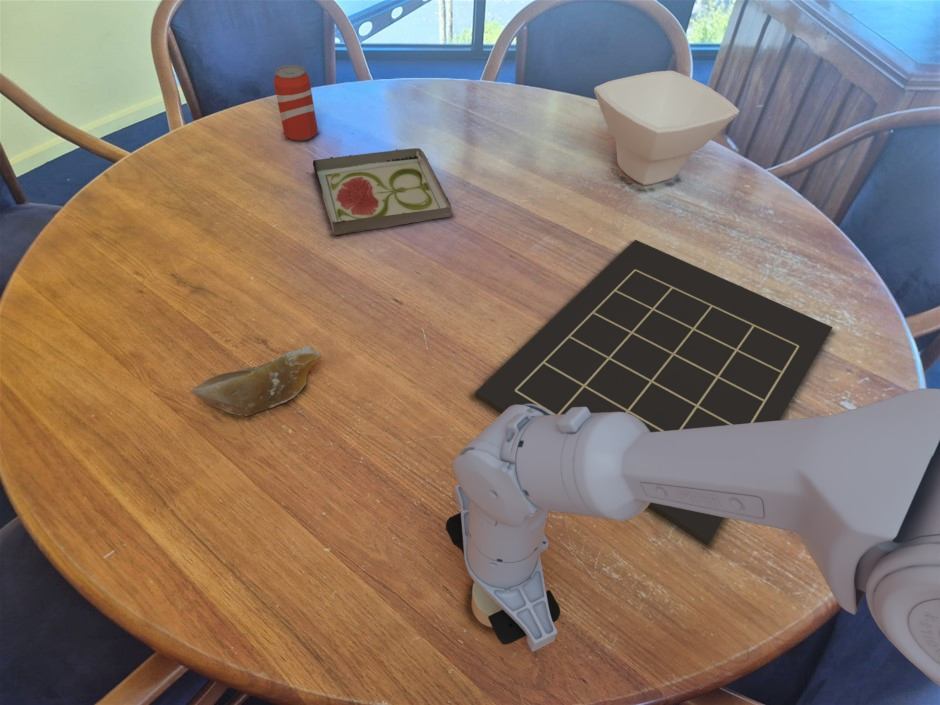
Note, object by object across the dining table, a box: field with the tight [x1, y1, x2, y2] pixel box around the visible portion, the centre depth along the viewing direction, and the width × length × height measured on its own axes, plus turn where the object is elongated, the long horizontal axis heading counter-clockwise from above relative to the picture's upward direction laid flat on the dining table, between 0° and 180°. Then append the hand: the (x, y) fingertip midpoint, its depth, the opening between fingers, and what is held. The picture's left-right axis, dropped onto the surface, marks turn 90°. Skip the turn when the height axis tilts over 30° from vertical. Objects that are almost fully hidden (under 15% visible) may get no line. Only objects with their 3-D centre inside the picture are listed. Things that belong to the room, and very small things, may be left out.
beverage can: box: [273, 64, 318, 142], centre depth 113 cm, size 6×6×12 cm
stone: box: [190, 345, 322, 417], centre depth 72 cm, size 7×6×15 cm
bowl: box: [593, 70, 740, 186], centre depth 106 cm, size 19×19×14 cm
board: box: [475, 239, 833, 546], centre depth 79 cm, size 40×30×1 cm
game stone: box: [471, 580, 503, 629], centre depth 57 cm, size 4×4×3 cm
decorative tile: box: [312, 147, 452, 236], centre depth 104 cm, size 20×3×20 cm
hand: (495, 597), depth 57 cm, fingers open, 6 cm apart
